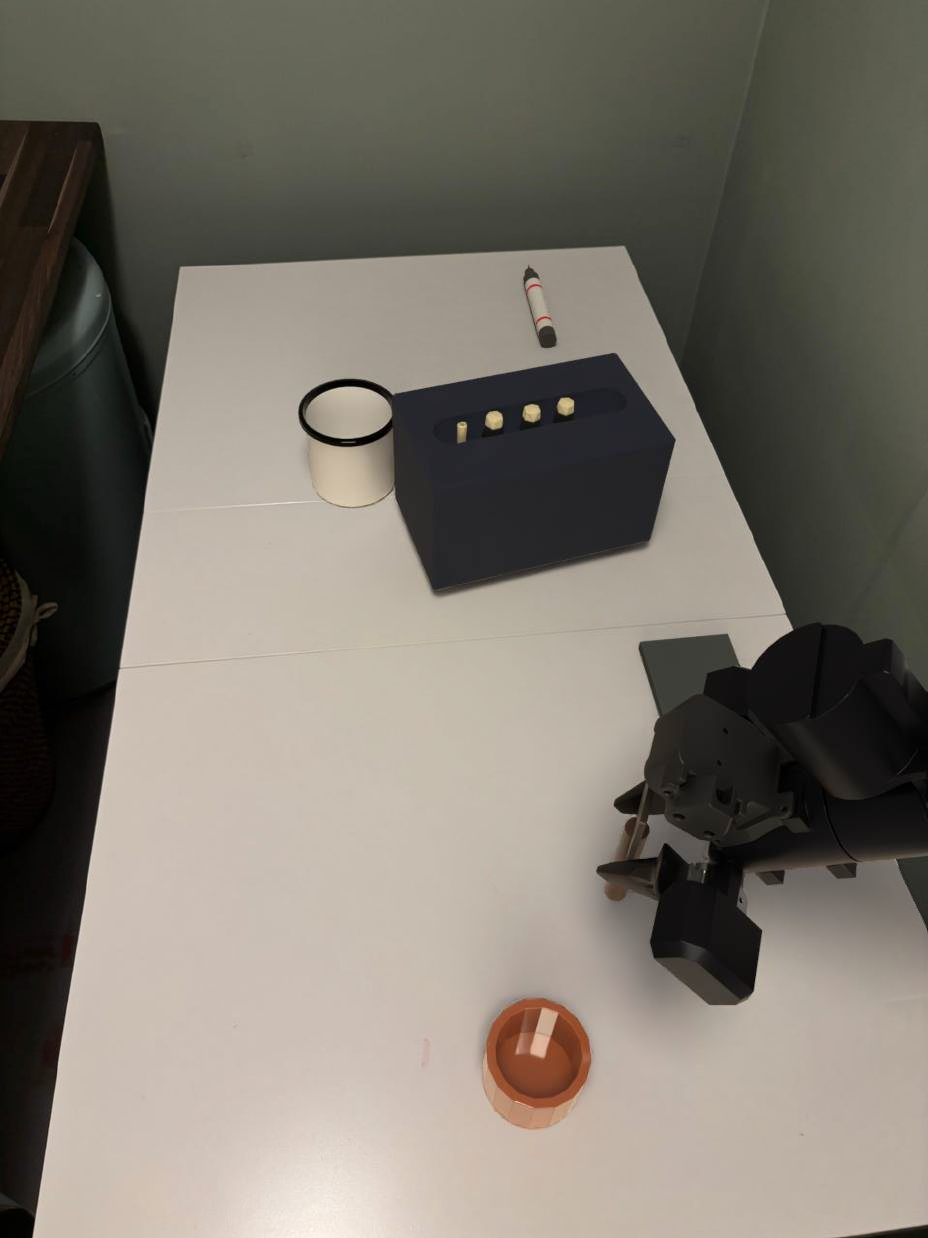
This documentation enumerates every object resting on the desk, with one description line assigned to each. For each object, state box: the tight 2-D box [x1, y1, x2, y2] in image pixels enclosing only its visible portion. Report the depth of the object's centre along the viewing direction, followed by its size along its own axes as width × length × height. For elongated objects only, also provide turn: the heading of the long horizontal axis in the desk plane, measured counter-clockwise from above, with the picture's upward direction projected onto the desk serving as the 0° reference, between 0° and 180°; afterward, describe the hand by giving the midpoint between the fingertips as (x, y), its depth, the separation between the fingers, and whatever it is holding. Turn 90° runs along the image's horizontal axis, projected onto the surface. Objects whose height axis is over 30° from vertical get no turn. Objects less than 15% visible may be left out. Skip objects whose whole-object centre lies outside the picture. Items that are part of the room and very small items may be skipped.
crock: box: [482, 997, 592, 1130], centre depth 63 cm, size 6×6×6 cm
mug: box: [297, 378, 395, 508], centre depth 97 cm, size 12×10×9 cm
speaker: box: [391, 352, 677, 591], centre depth 90 cm, size 22×13×15 cm, turn 108°
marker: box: [522, 264, 558, 348], centre depth 119 cm, size 15×2×2 cm, turn 7°
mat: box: [638, 633, 741, 718], centre depth 84 cm, size 12×8×1 cm, turn 8°
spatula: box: [603, 782, 654, 902], centre depth 60 cm, size 2×5×14 cm, turn 161°
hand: (609, 839), depth 61 cm, fingers closed on spatula, 4 cm apart
